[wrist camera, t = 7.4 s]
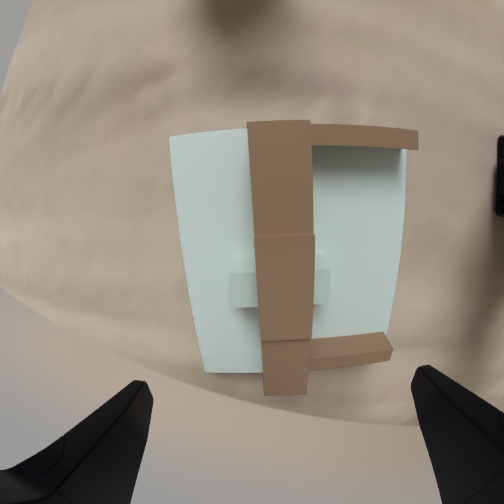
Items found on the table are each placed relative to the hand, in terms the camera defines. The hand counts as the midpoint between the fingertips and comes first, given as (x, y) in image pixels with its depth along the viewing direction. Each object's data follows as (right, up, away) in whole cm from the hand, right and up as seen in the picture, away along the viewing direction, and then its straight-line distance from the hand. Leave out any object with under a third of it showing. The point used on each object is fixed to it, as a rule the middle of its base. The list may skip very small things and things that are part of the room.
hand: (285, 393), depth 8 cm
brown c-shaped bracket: (+3, +4, +8) cm, 10 cm away
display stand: (+1, +4, +10) cm, 11 cm away
